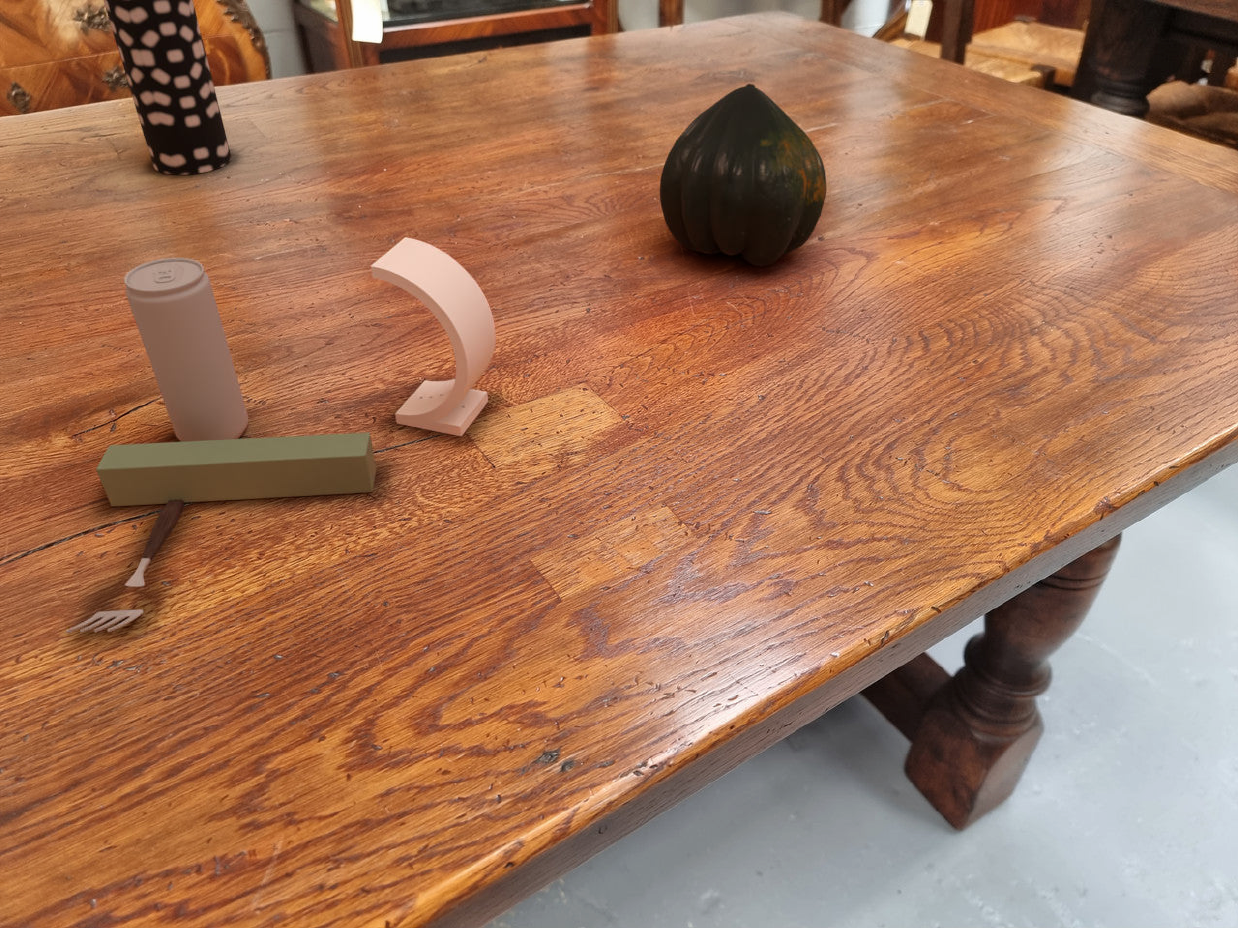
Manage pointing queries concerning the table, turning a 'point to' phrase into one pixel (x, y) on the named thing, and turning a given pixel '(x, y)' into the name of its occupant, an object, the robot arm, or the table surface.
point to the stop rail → (238, 469)
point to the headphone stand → (463, 322)
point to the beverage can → (187, 348)
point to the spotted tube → (170, 84)
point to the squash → (743, 180)
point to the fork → (139, 569)
